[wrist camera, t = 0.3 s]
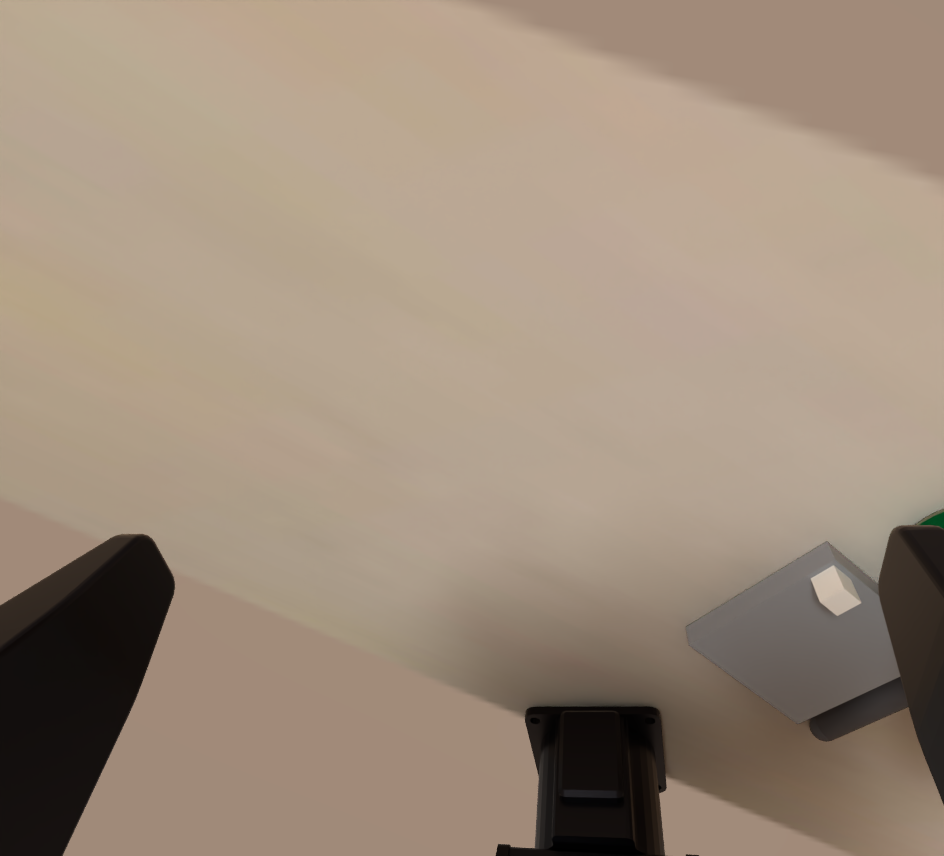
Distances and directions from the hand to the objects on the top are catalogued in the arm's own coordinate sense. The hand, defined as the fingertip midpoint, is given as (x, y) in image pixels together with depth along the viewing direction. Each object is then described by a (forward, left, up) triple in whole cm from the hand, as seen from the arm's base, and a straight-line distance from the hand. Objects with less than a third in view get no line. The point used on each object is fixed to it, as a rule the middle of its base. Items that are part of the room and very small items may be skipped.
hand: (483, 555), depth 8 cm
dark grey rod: (-23, -12, -16) cm, 30 cm away
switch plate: (-19, -9, -15) cm, 26 cm away
